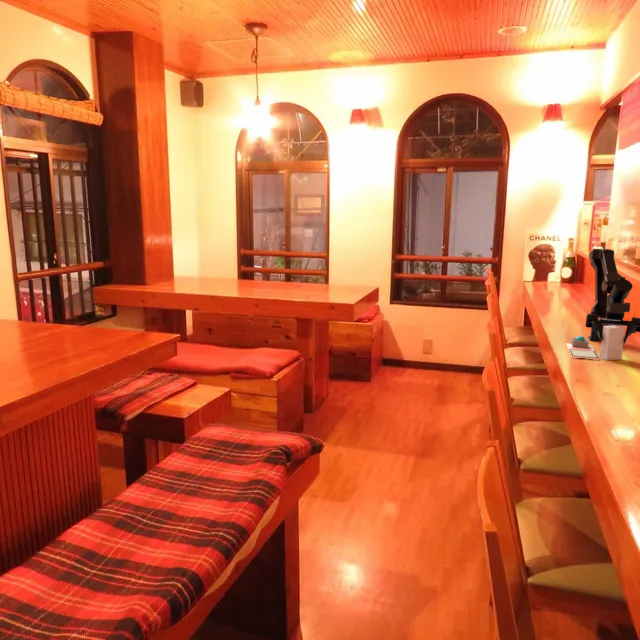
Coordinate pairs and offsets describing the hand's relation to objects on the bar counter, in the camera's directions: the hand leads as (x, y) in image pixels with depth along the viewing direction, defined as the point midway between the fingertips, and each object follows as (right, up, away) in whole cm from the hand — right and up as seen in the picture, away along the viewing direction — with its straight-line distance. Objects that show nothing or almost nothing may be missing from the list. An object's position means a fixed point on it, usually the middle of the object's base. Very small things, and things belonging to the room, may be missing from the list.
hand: (612, 341), depth 197 cm
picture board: (-6, -4, +11) cm, 13 cm away
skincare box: (+1, -6, +3) cm, 7 cm away
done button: (-4, -1, +17) cm, 17 cm away
